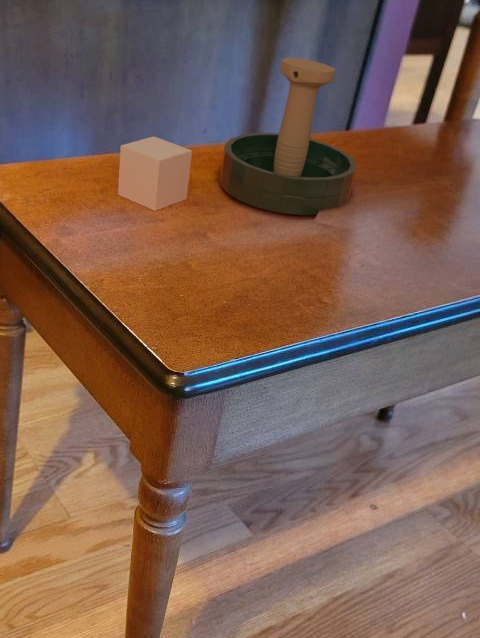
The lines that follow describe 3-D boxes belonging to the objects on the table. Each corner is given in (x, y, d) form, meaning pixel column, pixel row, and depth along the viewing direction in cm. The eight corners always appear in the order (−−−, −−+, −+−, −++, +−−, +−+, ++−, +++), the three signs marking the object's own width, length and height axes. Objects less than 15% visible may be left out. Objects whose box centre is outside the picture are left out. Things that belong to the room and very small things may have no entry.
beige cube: (117, 195, 90) (120, 145, 86) (149, 184, 94) (153, 136, 90) (155, 211, 87) (159, 160, 84) (186, 199, 91) (192, 150, 88)
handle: (274, 177, 99) (297, 56, 90) (314, 192, 96) (342, 69, 87) (253, 184, 96) (274, 60, 87) (293, 201, 93) (320, 74, 84)
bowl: (355, 186, 101) (364, 150, 98) (335, 231, 88) (345, 190, 85) (238, 160, 104) (244, 124, 101) (203, 199, 91) (208, 159, 88)
